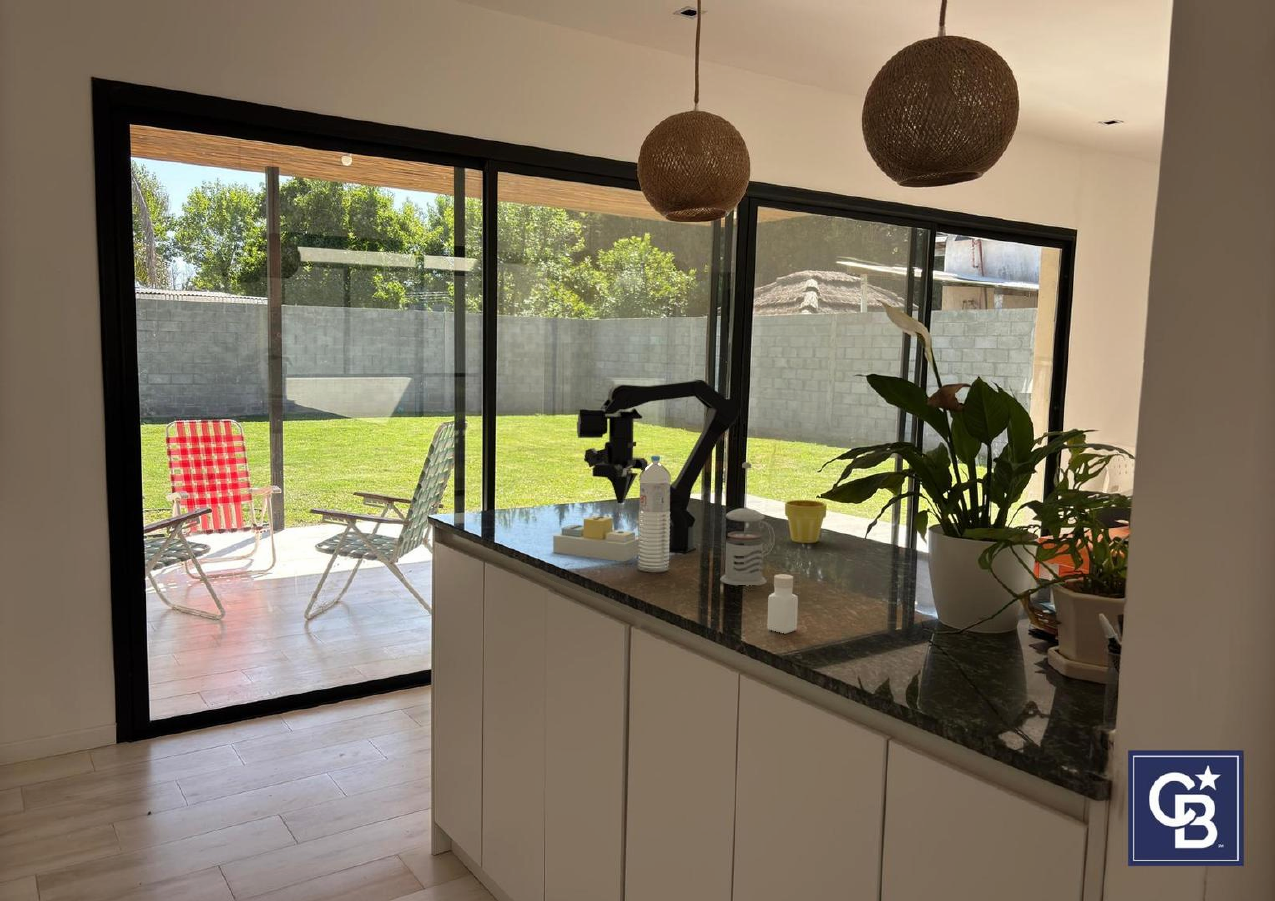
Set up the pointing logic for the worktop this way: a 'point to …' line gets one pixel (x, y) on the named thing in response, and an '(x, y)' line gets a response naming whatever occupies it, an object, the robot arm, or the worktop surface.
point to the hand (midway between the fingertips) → (620, 503)
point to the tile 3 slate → (573, 530)
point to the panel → (595, 547)
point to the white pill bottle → (782, 605)
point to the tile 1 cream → (620, 536)
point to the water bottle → (654, 518)
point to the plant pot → (805, 519)
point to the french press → (745, 548)
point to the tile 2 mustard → (597, 527)
